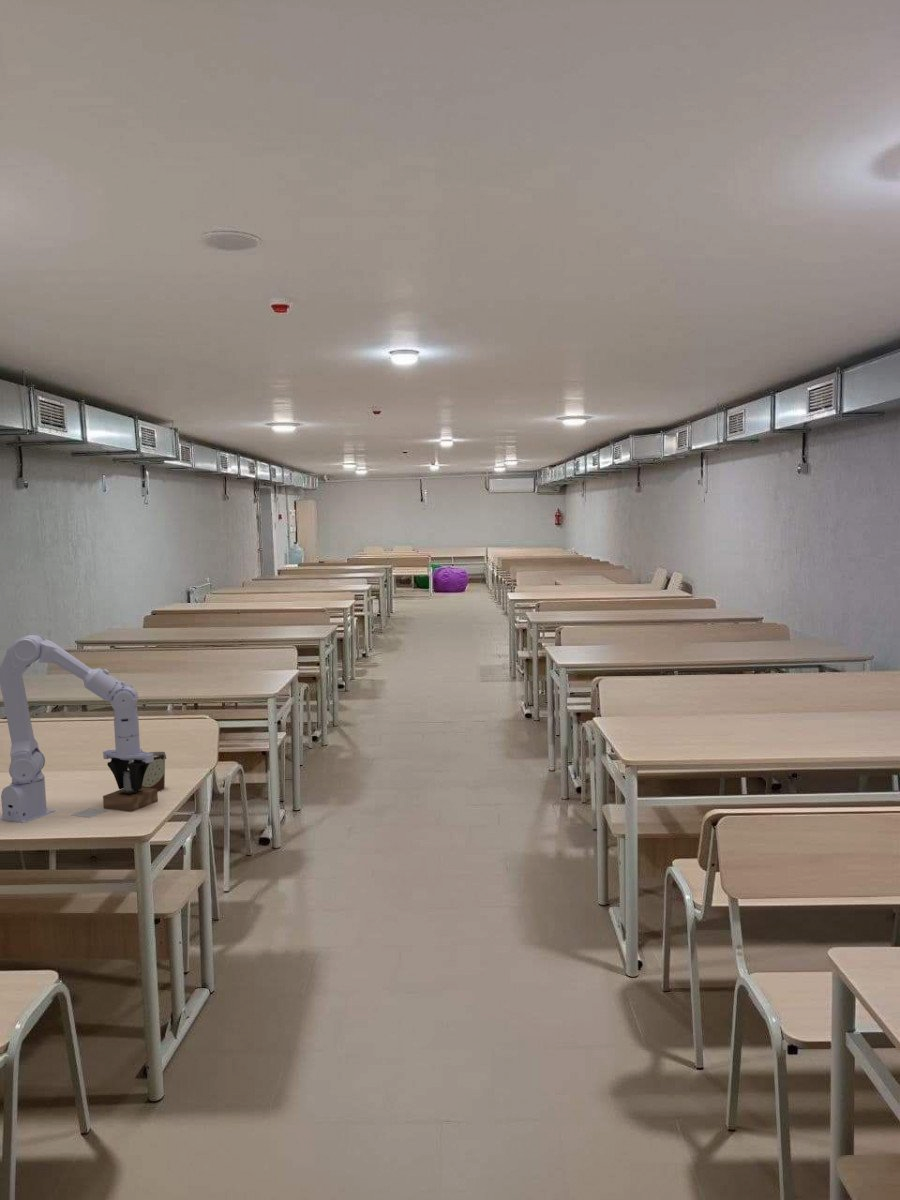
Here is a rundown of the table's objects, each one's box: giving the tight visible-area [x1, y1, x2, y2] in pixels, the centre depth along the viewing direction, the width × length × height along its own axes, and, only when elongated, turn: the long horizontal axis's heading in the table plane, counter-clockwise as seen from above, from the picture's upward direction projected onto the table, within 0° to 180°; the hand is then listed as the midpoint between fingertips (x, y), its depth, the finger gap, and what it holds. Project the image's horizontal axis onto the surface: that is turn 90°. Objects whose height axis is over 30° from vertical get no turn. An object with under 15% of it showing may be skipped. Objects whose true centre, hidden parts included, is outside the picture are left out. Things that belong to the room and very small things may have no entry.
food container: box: [127, 751, 167, 793], centre depth 232 cm, size 12×6×10 cm, turn 160°
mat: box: [70, 807, 109, 819], centre depth 215 cm, size 6×6×1 cm
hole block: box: [102, 788, 159, 813], centre depth 221 cm, size 9×9×4 cm
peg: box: [123, 769, 137, 796], centre depth 221 cm, size 3×3×9 cm
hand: (130, 788), depth 221 cm, fingers open, 4 cm apart
